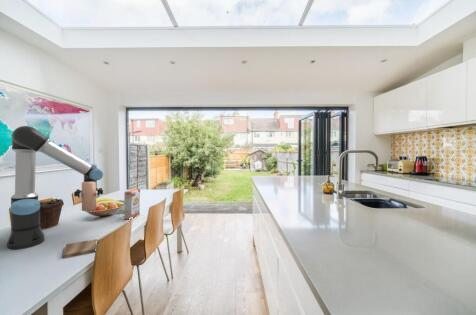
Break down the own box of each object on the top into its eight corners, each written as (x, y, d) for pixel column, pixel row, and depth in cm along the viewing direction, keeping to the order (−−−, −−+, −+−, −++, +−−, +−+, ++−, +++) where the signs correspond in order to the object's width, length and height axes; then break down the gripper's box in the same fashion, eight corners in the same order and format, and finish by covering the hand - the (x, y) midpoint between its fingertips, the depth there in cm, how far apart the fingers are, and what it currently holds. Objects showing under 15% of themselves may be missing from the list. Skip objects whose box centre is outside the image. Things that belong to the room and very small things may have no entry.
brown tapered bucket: (71, 221, 159) (70, 196, 159) (44, 231, 140) (43, 203, 139) (48, 220, 161) (48, 195, 160) (19, 230, 141) (18, 202, 141)
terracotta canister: (81, 211, 127) (81, 183, 126) (82, 208, 133) (81, 181, 132) (96, 209, 131) (95, 182, 130) (96, 207, 136) (95, 181, 136)
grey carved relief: (140, 211, 186) (139, 203, 186) (105, 217, 173) (105, 208, 173) (138, 209, 199) (137, 201, 199) (105, 214, 186) (105, 206, 186)
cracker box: (131, 219, 166) (131, 191, 165) (123, 219, 166) (123, 191, 165) (140, 214, 180) (140, 188, 179) (133, 213, 180) (133, 188, 179)
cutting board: (62, 258, 108) (62, 255, 108) (66, 247, 119) (66, 244, 119) (97, 251, 115) (97, 248, 115) (97, 241, 127) (97, 239, 127)
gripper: (107, 193, 152) (108, 200, 132) (71, 196, 141) (66, 204, 122) (107, 182, 152) (108, 187, 132) (71, 184, 141) (66, 190, 122)
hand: (88, 195), depth 127 cm, fingers closed on terracotta canister, 7 cm apart
